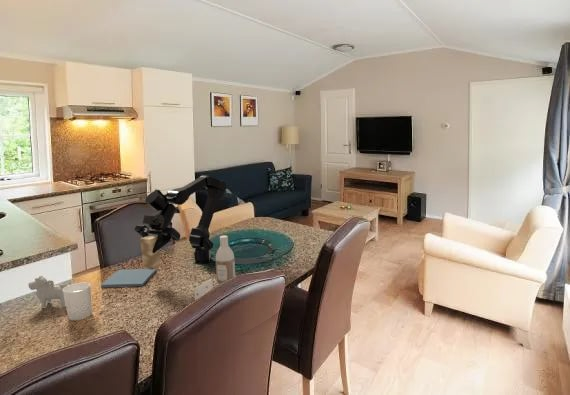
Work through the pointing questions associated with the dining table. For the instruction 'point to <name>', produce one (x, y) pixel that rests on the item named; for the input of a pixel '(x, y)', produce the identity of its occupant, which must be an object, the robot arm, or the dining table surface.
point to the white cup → (78, 300)
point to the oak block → (150, 253)
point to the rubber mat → (129, 278)
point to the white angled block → (203, 288)
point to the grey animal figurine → (47, 290)
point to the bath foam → (224, 261)
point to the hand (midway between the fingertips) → (148, 252)
